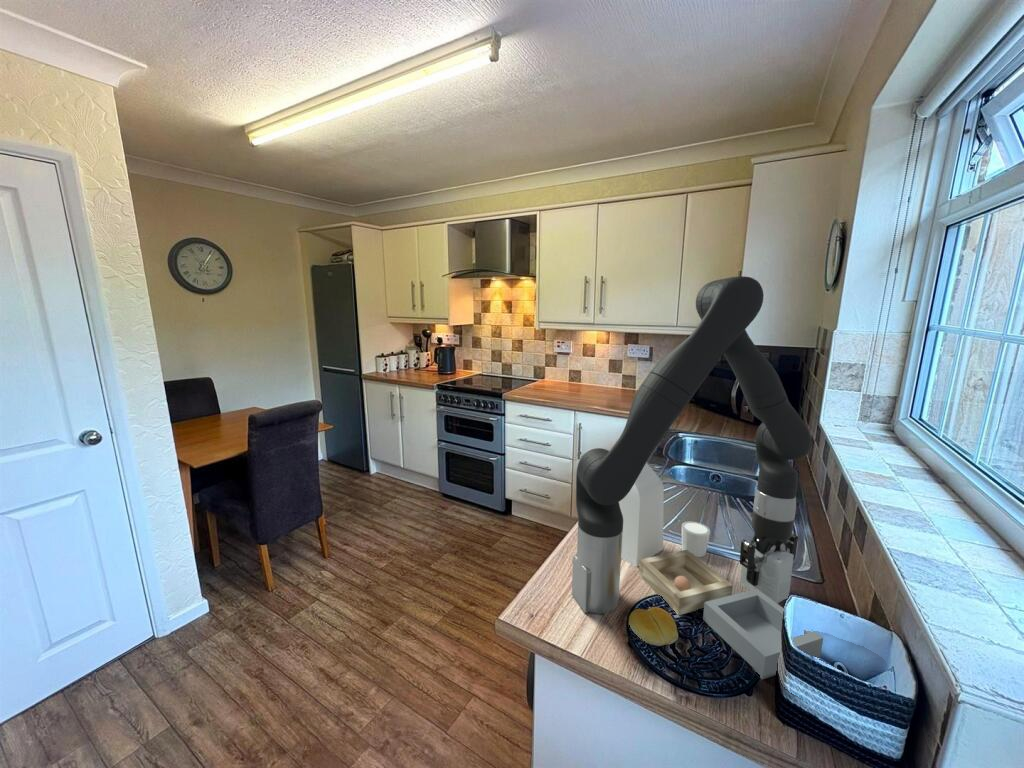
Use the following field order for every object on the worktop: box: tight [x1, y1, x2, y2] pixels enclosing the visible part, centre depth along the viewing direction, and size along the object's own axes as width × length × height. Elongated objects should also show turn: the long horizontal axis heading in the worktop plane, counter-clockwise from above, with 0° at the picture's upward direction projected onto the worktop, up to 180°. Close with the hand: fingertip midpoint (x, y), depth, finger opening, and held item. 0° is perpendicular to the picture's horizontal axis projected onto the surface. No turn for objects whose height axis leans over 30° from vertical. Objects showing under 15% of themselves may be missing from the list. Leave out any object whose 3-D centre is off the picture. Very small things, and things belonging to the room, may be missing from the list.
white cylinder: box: [680, 521, 711, 558], centre depth 104 cm, size 7×7×7 cm
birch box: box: [637, 550, 733, 616], centre depth 90 cm, size 14×14×4 cm
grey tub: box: [702, 589, 824, 680], centre depth 76 cm, size 14×14×4 cm
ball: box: [674, 576, 691, 591], centre depth 89 cm, size 3×3×3 cm
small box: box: [739, 548, 794, 605], centre depth 89 cm, size 8×6×10 cm
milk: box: [619, 461, 665, 568], centre depth 104 cm, size 12×12×26 cm
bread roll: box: [628, 606, 679, 647], centre depth 78 cm, size 8×9×4 cm
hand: (764, 580), depth 90 cm, fingers open, 7 cm apart
